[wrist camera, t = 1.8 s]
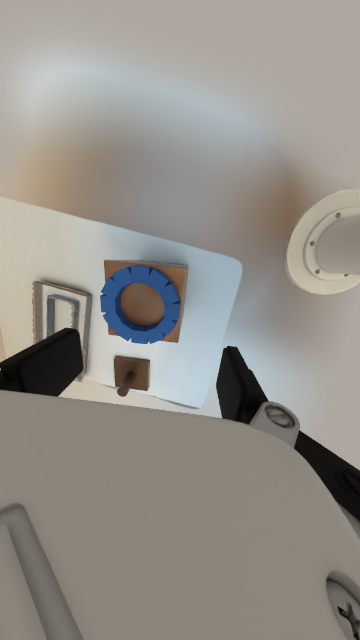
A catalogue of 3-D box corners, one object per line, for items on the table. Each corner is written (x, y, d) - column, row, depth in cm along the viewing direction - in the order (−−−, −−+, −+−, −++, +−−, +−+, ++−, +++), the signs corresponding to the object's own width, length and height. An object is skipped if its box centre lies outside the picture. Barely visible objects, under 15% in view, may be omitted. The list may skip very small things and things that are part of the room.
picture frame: (43, 364, 47) (34, 371, 44) (38, 276, 38) (26, 277, 35) (90, 375, 47) (83, 383, 44) (95, 291, 38) (88, 293, 35)
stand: (188, 264, 35) (185, 268, 20) (183, 310, 38) (178, 342, 23) (141, 260, 35) (103, 260, 20) (141, 305, 39) (108, 334, 24)
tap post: (149, 359, 43) (141, 379, 36) (148, 387, 47) (141, 409, 40) (116, 355, 44) (101, 374, 37) (117, 383, 47) (104, 404, 40)
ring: (183, 270, 20) (183, 271, 18) (176, 341, 23) (175, 347, 21) (105, 262, 20) (97, 262, 18) (109, 333, 23) (103, 339, 22)
